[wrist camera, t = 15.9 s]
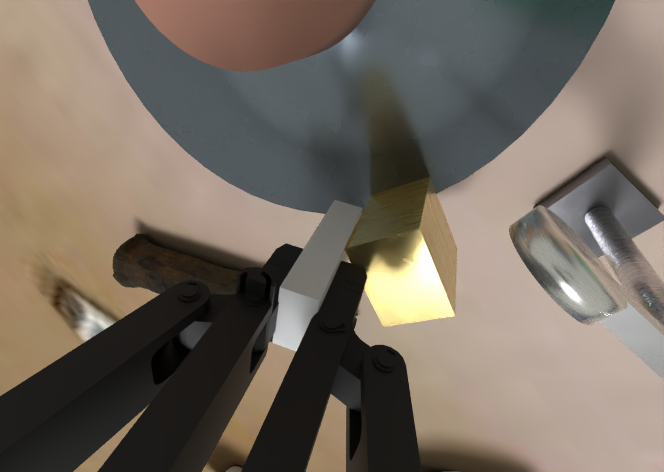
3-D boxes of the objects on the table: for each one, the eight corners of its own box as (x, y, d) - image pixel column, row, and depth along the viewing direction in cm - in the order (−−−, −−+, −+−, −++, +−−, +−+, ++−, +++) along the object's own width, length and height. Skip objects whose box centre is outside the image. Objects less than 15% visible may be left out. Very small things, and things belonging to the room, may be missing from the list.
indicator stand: (657, 209, 19) (927, 487, 8) (582, 253, 21) (710, 519, 10) (527, 80, 18) (629, 195, 7) (462, 141, 20) (459, 302, 9)
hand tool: (147, 263, 33) (106, 297, 29) (142, 226, 31) (97, 257, 27) (350, 336, 31) (334, 384, 27) (361, 301, 28) (346, 347, 24)
